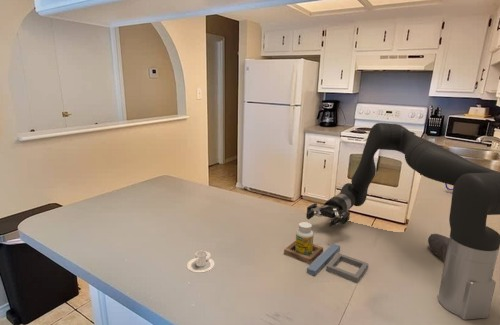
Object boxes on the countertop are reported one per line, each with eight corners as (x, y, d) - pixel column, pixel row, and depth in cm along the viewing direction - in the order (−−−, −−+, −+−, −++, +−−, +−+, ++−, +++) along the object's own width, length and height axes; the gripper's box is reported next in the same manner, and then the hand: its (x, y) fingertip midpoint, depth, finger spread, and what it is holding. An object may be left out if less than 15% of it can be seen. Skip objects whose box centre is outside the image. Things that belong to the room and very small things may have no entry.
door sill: (332, 247, 99) (332, 243, 98) (339, 250, 97) (340, 245, 97) (306, 272, 85) (307, 268, 85) (314, 276, 83) (315, 271, 83)
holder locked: (322, 251, 96) (323, 247, 96) (309, 264, 89) (310, 259, 89) (298, 242, 101) (298, 238, 101) (283, 253, 95) (284, 249, 94)
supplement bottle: (314, 251, 96) (316, 223, 94) (308, 258, 92) (311, 230, 90) (298, 246, 99) (300, 219, 97) (292, 254, 94) (294, 226, 92)
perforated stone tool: (420, 246, 101) (424, 227, 99) (435, 245, 101) (439, 226, 100) (452, 272, 86) (457, 250, 85) (470, 272, 87) (475, 250, 85)
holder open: (368, 268, 88) (368, 263, 87) (357, 283, 81) (358, 278, 80) (338, 257, 93) (338, 253, 93) (326, 270, 86) (326, 265, 86)
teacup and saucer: (203, 254, 94) (203, 242, 93) (222, 264, 89) (221, 251, 88) (181, 266, 88) (180, 254, 87) (199, 277, 83) (199, 264, 82)
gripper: (321, 192, 117) (301, 204, 105) (357, 201, 109) (340, 215, 96) (319, 210, 119) (299, 224, 106) (355, 220, 110) (338, 236, 98)
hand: (319, 220), depth 101 cm, fingers open, 8 cm apart
